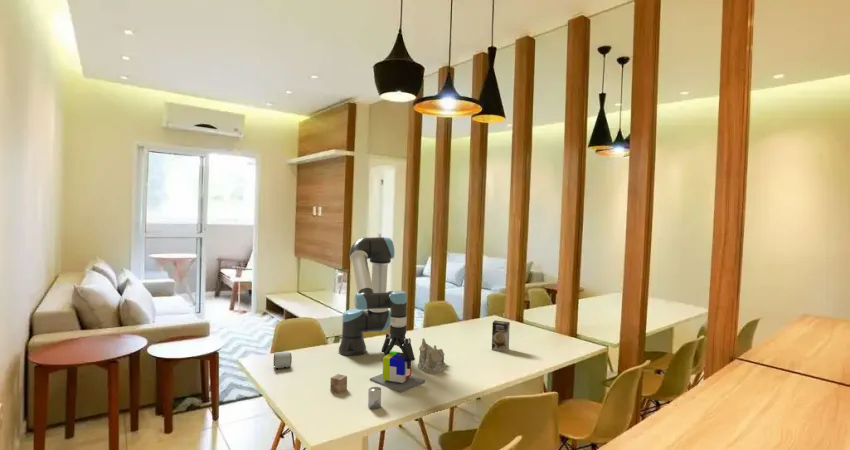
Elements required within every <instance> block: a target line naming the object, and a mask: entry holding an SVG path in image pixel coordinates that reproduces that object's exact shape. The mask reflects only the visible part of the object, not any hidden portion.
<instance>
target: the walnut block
mask: <svg viewBox="0 0 850 450" xmlns="http://www.w3.org/2000/svg"><path fill="white" fill-rule="evenodd" d="M347 389H348V376H347V375H344V374H340V373H337V374H335V375H333V376H331V377H330V392H331V391H333V392H332V393H335V392H336V394H339V393H340V394H342V393H344V392H345V391H347ZM343 391H344V392H343ZM341 392H342V393H341Z"/></svg>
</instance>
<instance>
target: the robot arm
mask: <svg viewBox="0 0 850 450" xmlns="http://www.w3.org/2000/svg"><path fill="white" fill-rule="evenodd" d="M348 256H349V261H350V262H351V263H352V267H353V273H354V279H355V284H356V291H357V293H355V295H354V307H355V308H351V309H348V310H345V311H344V312H343V313H342V318H341V322H342V327H341V328H342V329H341V330H342V335H341V341H340V343H339V344H340V345H339V346H338V353H339V354H340V355H343V356H347V357H348V356H351V357H352V356H360V355H363V354H365V353H366V352H367V346H366V343H365V340H364V339H365V338H364V334H365V333H373V332H375V333H376V332H379V333H381V332H386V331H387V330H388V329H389V332H388V333H386V334H385V339H384V342H383V345H382V348H381V353H383V355H384V357H385V356H386V355H388V354H389V353H390V352H392V351H393V350H392V349H393V348H394V347H395V346H397V347H399V349H400V350H401V353H403V354H404V357H405V359H406V361H405V376H408V375H410V368H411V369H412V362H413V361H415V360H416V358H415V354H414V350H413V346H412V340H411V338H406V334H407V313H408V312H407V308H408V294H407V292H406V291H403V290H394V291H393V290H390V291H389V290H388V291H387V287H388V286H387V285H388V284H387V283H388V267H389V264H390V263H391V261H392V259H395V245H394V242H393V240H392V239H391V238H390V237H385V236H384V237H379V236H377V237H365V236H364V237H360V238H359V239H357V240H356V241H355V242H354V243H353V244H352V245H351V247H350V250H349V255H348ZM368 260H369V262H370V264H371V265H372V267H371V273H370V267H369V264H368ZM389 309H390V310H389ZM408 358H409V359H408Z"/></svg>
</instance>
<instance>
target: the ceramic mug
mask: <svg viewBox="0 0 850 450" xmlns="http://www.w3.org/2000/svg"><path fill="white" fill-rule="evenodd" d="M292 355H293V354H292V353H291V352H287V351H283V352H274V353H273V369H274V370H276V368H278V369H284V367H286V368H289V367H291V366H292V362H293V360H292V358H293V357H292ZM274 366H275V367H274Z"/></svg>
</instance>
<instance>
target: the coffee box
mask: <svg viewBox="0 0 850 450" xmlns="http://www.w3.org/2000/svg"><path fill="white" fill-rule="evenodd" d="M510 324H511V322H510V321H504V320H503V321H502V320H494V321H492V326H491V327H492V330H491V331H492V332H491V334H492V337H491V351H499V352H502V353H503V352H504V353H507V352H509V349H510V328H511V327H510Z"/></svg>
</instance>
